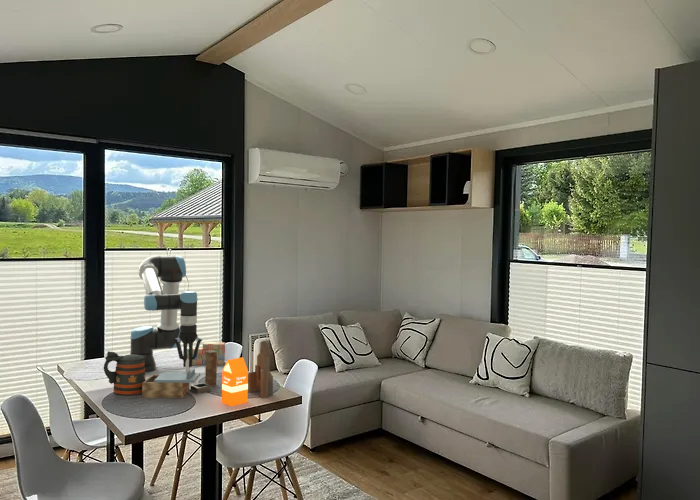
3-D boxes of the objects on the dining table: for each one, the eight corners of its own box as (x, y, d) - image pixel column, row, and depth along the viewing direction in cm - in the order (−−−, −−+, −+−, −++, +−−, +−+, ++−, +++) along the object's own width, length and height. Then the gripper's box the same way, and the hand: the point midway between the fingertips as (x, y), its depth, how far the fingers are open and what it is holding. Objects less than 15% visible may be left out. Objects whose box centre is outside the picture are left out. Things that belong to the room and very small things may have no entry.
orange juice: (247, 402, 244) (248, 358, 243) (231, 406, 237) (232, 361, 237) (237, 398, 249) (238, 355, 249) (221, 402, 243) (222, 358, 242)
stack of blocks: (185, 365, 310) (186, 343, 310) (187, 362, 316) (188, 341, 316) (223, 364, 312) (224, 343, 312) (224, 362, 319) (225, 341, 318)
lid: (154, 382, 247) (154, 374, 247) (162, 374, 261) (163, 367, 261) (193, 382, 248) (193, 374, 248) (200, 374, 262) (200, 367, 262)
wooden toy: (245, 390, 261) (246, 340, 261) (257, 388, 266) (258, 338, 265) (262, 398, 250) (264, 345, 249) (274, 395, 254) (276, 343, 254)
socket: (197, 393, 255) (197, 388, 255) (190, 390, 260) (190, 385, 260) (211, 390, 260) (211, 385, 260) (203, 387, 265) (203, 382, 265)
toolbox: (142, 397, 247) (142, 382, 246) (151, 389, 261) (151, 374, 260) (182, 397, 248) (182, 382, 248) (189, 389, 262) (189, 375, 262)
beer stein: (106, 398, 244) (106, 355, 243) (101, 390, 256) (102, 349, 256) (149, 393, 254) (150, 351, 254) (143, 385, 267) (143, 345, 266)
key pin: (209, 386, 267) (209, 352, 267) (205, 384, 270) (205, 351, 270) (216, 385, 270) (216, 351, 270) (212, 383, 273) (213, 350, 272)
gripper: (172, 325, 250) (171, 375, 250) (200, 325, 250) (199, 375, 251) (176, 322, 257) (175, 371, 258) (204, 323, 258) (203, 371, 259)
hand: (187, 373), depth 254 cm, fingers closed
